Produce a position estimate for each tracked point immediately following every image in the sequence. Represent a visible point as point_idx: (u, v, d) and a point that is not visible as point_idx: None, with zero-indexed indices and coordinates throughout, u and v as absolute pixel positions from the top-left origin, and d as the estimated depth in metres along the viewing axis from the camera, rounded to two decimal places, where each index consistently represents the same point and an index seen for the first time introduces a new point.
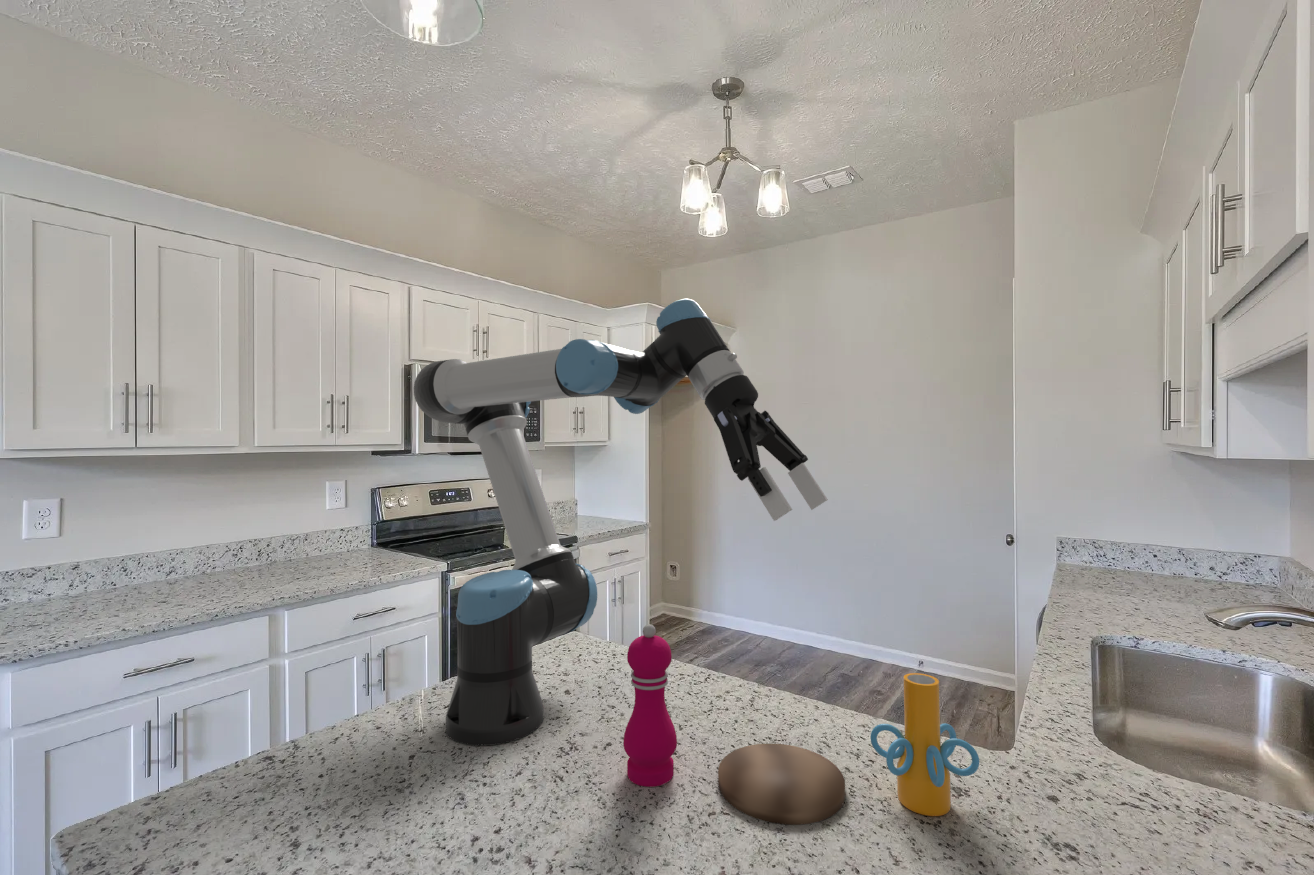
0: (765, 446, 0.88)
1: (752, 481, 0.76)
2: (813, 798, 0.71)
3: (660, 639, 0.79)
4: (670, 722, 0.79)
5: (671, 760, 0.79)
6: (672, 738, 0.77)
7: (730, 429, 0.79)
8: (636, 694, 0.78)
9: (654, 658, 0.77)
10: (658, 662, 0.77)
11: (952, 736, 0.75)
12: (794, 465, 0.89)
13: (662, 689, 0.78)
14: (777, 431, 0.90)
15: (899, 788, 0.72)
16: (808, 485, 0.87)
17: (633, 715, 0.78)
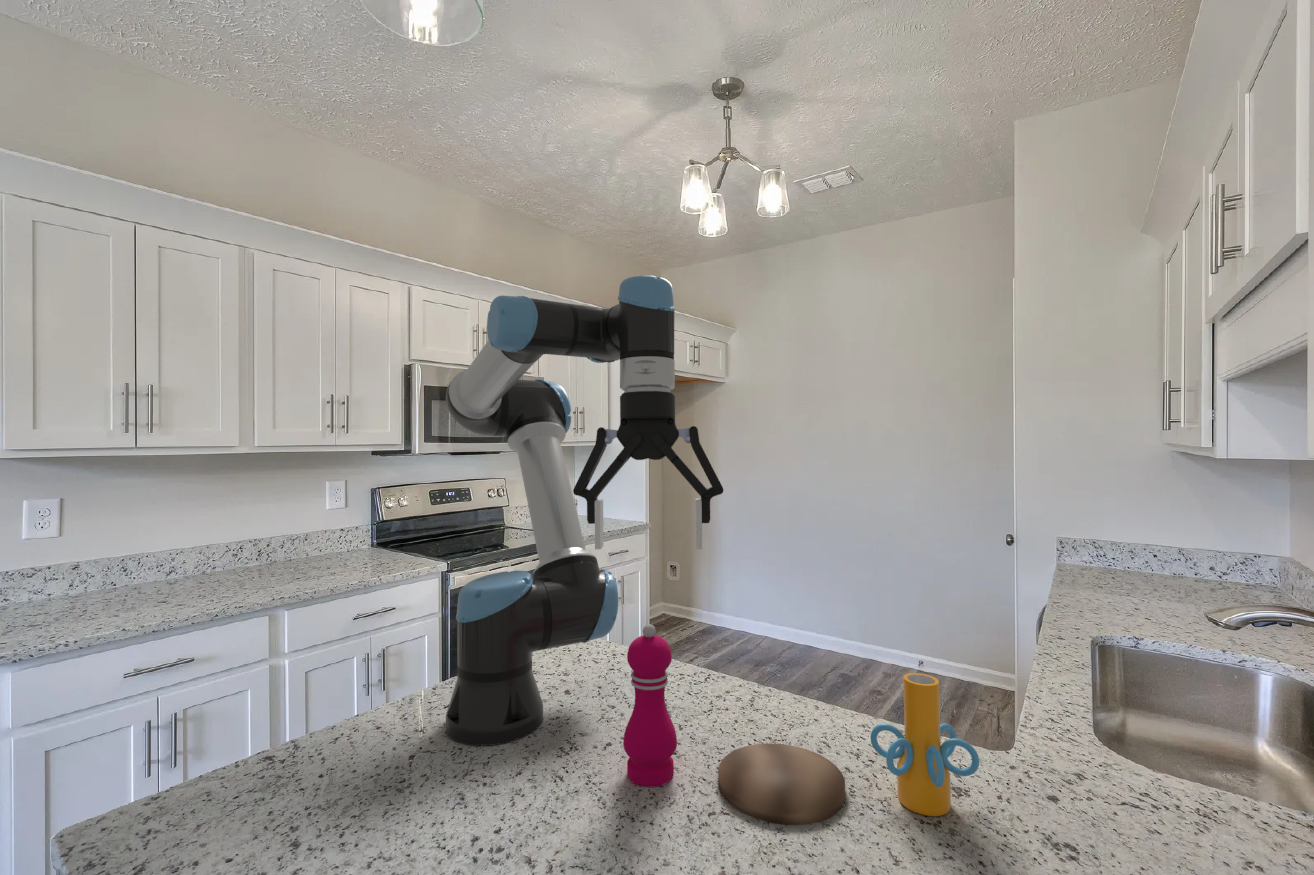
0: None
1: None
2: (813, 798, 0.71)
3: (660, 639, 0.79)
4: (670, 722, 0.79)
5: (671, 760, 0.79)
6: (672, 738, 0.77)
7: None
8: (636, 694, 0.78)
9: (654, 658, 0.77)
10: (658, 662, 0.77)
11: (952, 736, 0.75)
12: None
13: (662, 689, 0.78)
14: (695, 454, 0.79)
15: (899, 788, 0.72)
16: None
17: (633, 715, 0.78)
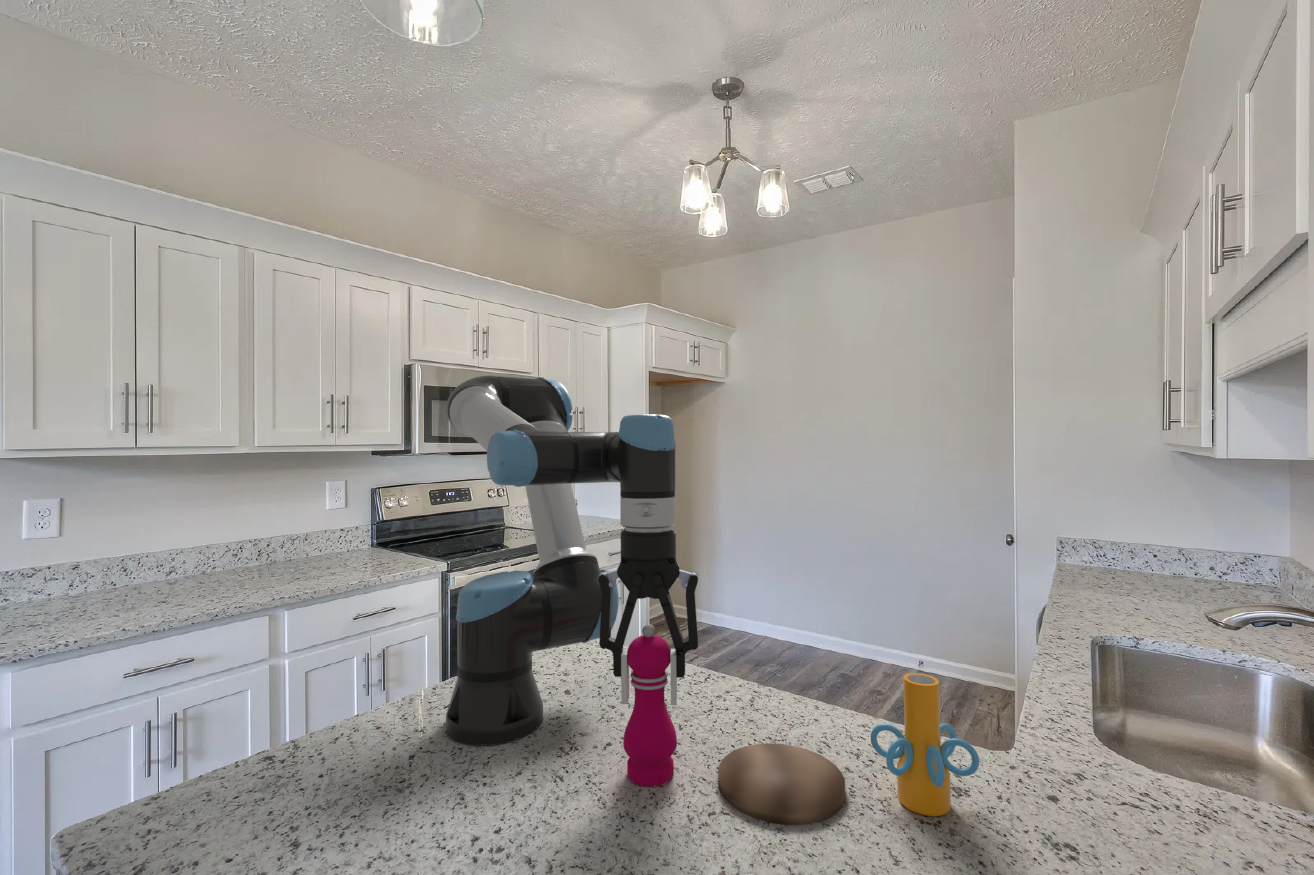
0: None
1: None
2: (813, 798, 0.71)
3: (660, 639, 0.79)
4: (670, 722, 0.79)
5: (671, 760, 0.79)
6: (672, 737, 0.77)
7: None
8: (636, 694, 0.78)
9: (653, 658, 0.77)
10: (658, 661, 0.77)
11: (952, 736, 0.75)
12: None
13: (662, 689, 0.78)
14: (686, 602, 0.78)
15: (899, 788, 0.72)
16: None
17: (633, 715, 0.78)
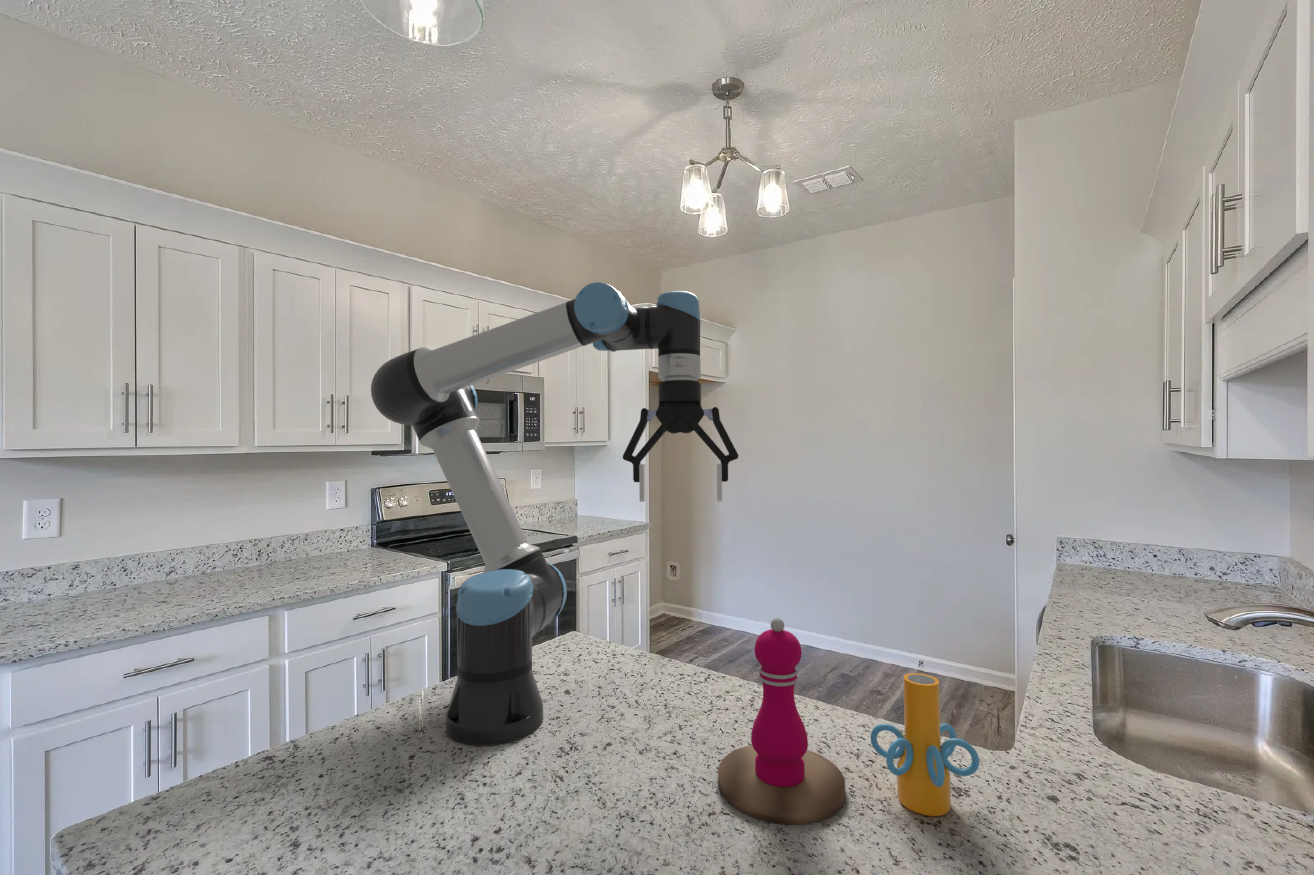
0: (700, 437, 1.05)
1: None
2: (813, 798, 0.71)
3: (789, 633, 0.76)
4: (801, 720, 0.76)
5: (801, 759, 0.76)
6: (805, 736, 0.74)
7: None
8: (766, 690, 0.75)
9: (787, 653, 0.74)
10: (792, 657, 0.74)
11: (952, 736, 0.75)
12: None
13: (793, 685, 0.75)
14: (716, 428, 1.03)
15: (899, 788, 0.72)
16: None
17: (763, 712, 0.75)
